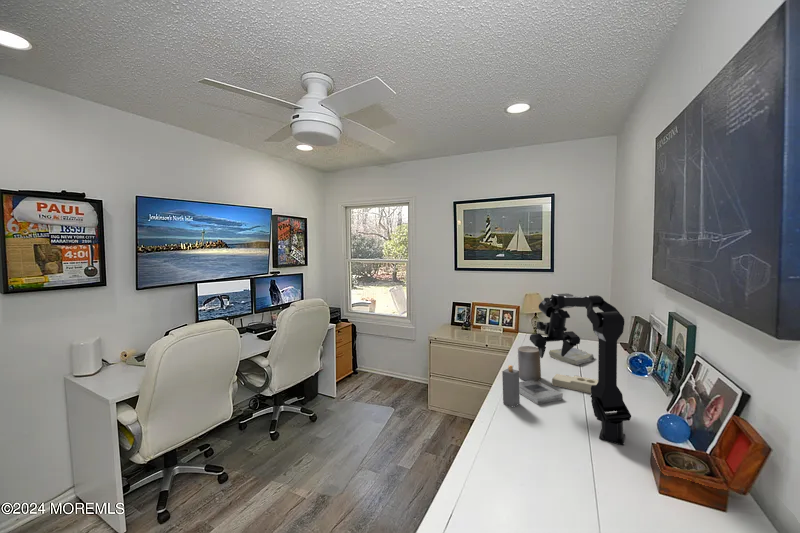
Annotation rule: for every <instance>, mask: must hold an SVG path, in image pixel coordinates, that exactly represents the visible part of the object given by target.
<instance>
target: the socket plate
mask: <svg viewBox="0 0 800 533" xmlns="http://www.w3.org/2000/svg"><path fill="white" fill-rule="evenodd" d="M521 394H522V396H523V397H525V398H526V399H527V400H529V399H530V401H531V402H533V403H535V404H536V405H537V406H538V405H542V404H547V403H552V402H556V401H561V400H563V399H564V398H563V393H562V392H560V391H559V390H556V389H554V388H553V387H551V386H549V385H547V384H545V383H543V382H541V381H540V380H539V381H537V380H535V379H534V380H529V381H526V380H523V381H519V395H521Z"/></svg>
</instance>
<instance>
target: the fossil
mask: <svg viewBox="0 0 800 533" xmlns="http://www.w3.org/2000/svg"><path fill="white" fill-rule="evenodd" d="M561 351H562V348H559V349H558V348H557V349H550V350H549V351H548V355H549V356H550V357H552V358H553V359H555V360H557V361H560V362H564V363H565V364H570V365H574V366H575V365H576V366H577V365H578V366H579V365H582V364H586V363H590V362H593V361H595V360H596V358H595V356H594V354H593V353H588V352H586V350H585V351H583V350H582V349H580V348H575V347H573V348H572V349H570V350H569V351H568V352H567V353H566V354H565V356H564V357H562V356H561Z"/></svg>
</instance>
